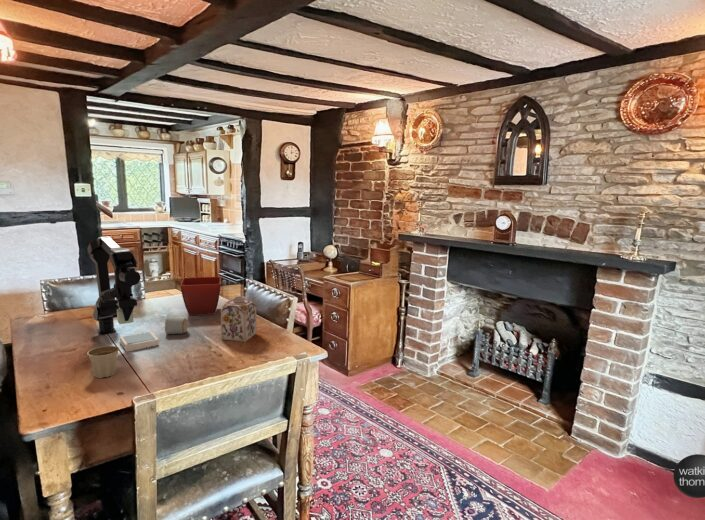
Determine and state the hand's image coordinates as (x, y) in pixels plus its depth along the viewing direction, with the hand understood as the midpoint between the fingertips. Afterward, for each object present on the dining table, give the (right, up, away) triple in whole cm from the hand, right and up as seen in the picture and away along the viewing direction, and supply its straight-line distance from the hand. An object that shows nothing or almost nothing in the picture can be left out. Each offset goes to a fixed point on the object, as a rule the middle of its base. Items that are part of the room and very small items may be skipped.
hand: (125, 319), depth 167 cm
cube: (0, -1, 0) cm, 1 cm away
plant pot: (+13, -4, +51) cm, 52 cm away
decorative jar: (+42, -10, +16) cm, 46 cm away
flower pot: (+6, -16, -24) cm, 30 cm away
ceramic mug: (+13, -9, +19) cm, 25 cm away
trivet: (+4, -11, +4) cm, 12 cm away
